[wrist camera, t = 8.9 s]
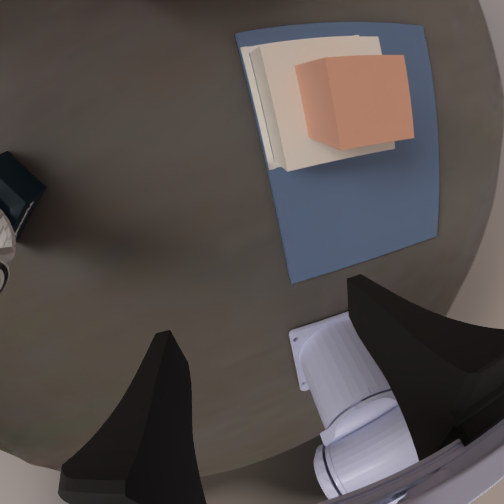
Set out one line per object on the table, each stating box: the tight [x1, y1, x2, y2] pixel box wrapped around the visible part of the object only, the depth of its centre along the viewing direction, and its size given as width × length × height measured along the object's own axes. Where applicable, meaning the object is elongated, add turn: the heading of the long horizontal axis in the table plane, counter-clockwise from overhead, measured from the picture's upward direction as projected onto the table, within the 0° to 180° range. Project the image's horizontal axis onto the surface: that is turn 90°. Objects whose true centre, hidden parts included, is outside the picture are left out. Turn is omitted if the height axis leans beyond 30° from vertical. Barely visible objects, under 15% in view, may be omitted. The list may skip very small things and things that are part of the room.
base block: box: [250, 36, 395, 172], centre depth 16 cm, size 7×7×3 cm
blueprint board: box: [235, 22, 439, 284], centre depth 20 cm, size 18×14×1 cm
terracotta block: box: [294, 55, 414, 151], centre depth 13 cm, size 4×4×4 cm
